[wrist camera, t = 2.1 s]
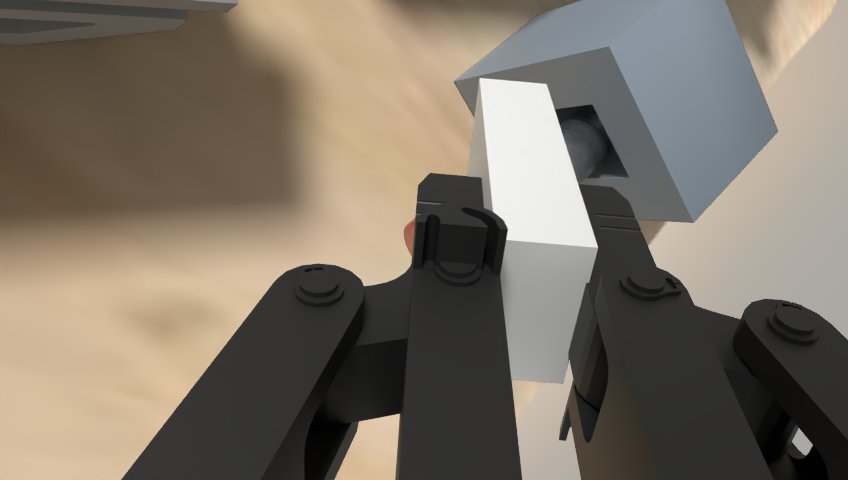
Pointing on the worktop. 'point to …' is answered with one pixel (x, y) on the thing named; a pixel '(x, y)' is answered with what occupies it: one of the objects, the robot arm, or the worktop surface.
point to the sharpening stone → (94, 18)
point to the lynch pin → (570, 149)
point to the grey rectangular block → (646, 94)
